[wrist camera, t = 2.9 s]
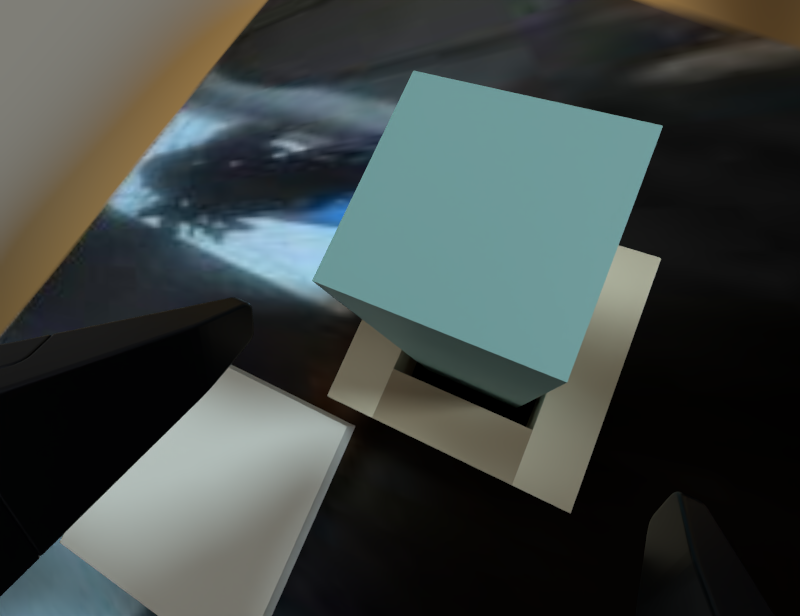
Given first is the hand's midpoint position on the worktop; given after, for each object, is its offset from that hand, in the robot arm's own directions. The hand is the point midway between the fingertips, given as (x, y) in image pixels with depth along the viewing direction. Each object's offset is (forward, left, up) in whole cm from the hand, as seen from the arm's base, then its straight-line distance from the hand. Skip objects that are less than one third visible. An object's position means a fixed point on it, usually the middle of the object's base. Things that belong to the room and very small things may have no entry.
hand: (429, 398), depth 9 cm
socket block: (+3, 0, -10) cm, 11 cm away
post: (+3, 0, -10) cm, 11 cm away
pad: (-8, +9, -10) cm, 16 cm away
